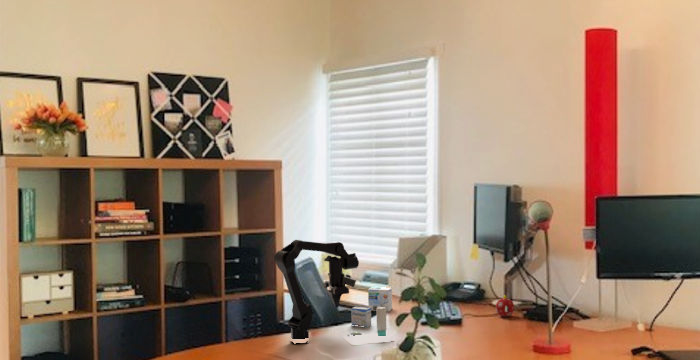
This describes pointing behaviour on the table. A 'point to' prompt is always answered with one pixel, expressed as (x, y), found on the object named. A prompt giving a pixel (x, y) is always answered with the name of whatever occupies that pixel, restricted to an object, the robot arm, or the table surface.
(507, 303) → the christmas ornament
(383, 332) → the beige teal tall box
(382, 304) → the light bulb box
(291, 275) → the robot arm
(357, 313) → the medicine box
